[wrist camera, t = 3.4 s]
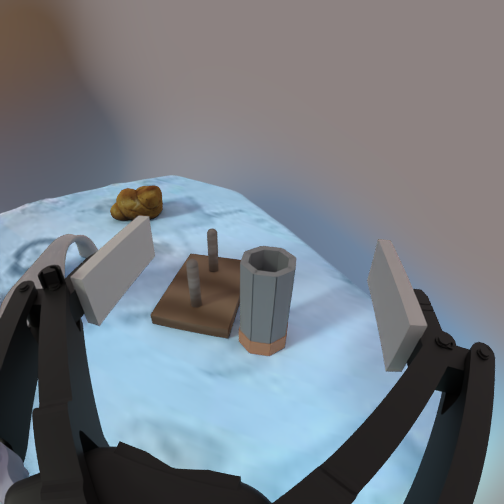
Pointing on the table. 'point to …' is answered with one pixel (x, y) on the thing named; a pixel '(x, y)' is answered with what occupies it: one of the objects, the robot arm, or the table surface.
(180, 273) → the pin board
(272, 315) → the sleeve
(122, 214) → the bread roll
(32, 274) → the spoon rest
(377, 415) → the robot arm
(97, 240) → the table surface
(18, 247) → the table surface
